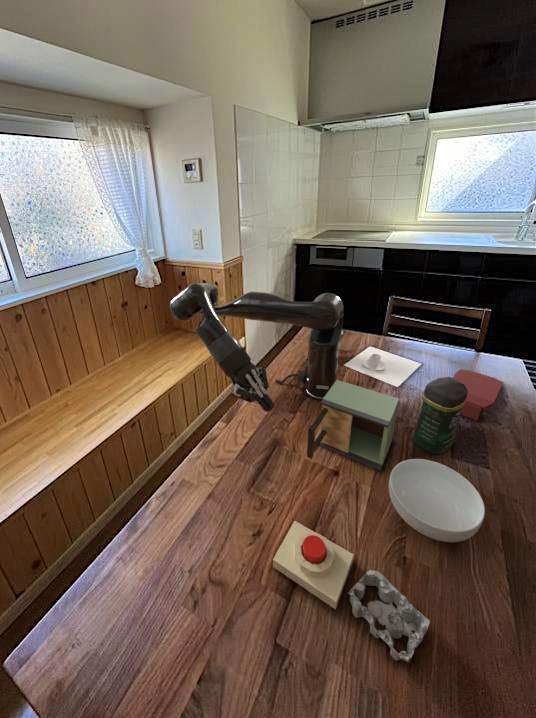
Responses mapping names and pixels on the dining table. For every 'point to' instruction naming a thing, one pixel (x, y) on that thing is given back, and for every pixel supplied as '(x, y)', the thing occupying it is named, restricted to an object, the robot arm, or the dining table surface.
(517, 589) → the dining table surface
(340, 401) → the cupboard
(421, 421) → the coffee jar
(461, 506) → the cereal bowl
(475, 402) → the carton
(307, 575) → the switch box
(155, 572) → the dining table surface
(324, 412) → the door
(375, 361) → the teacup and saucer
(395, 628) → the egg carton
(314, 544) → the button
